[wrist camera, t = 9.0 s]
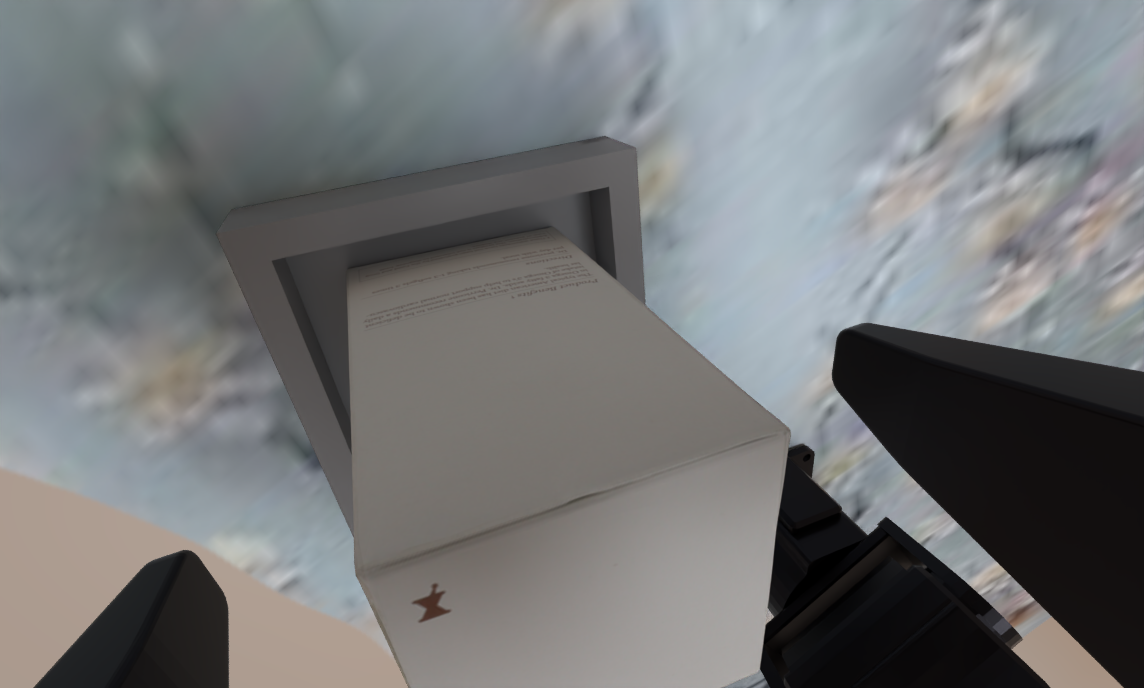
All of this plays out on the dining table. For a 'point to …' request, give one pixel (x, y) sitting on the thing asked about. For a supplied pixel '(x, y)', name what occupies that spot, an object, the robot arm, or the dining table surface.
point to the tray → (404, 228)
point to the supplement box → (552, 477)
